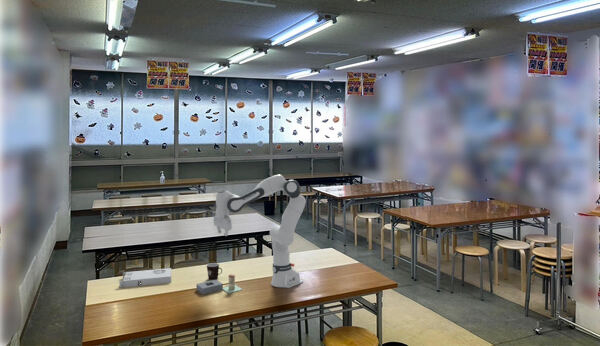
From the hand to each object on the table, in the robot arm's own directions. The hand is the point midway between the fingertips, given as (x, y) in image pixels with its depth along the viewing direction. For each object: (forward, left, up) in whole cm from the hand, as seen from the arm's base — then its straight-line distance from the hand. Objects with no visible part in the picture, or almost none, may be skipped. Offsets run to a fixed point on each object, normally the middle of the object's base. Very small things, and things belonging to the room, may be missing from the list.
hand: (222, 234), depth 281 cm
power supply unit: (+41, -36, -35) cm, 65 cm away
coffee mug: (+3, -10, -34) cm, 35 cm away
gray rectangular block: (+14, +7, -34) cm, 37 cm away
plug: (+2, +15, -33) cm, 37 cm away
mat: (+2, +15, -34) cm, 37 cm away
